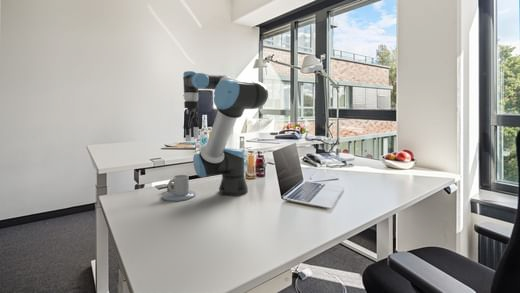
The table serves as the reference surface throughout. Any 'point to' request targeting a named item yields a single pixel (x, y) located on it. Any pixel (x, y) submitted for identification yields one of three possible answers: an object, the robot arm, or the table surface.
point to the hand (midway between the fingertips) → (192, 139)
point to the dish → (172, 197)
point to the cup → (179, 185)
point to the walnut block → (171, 186)
